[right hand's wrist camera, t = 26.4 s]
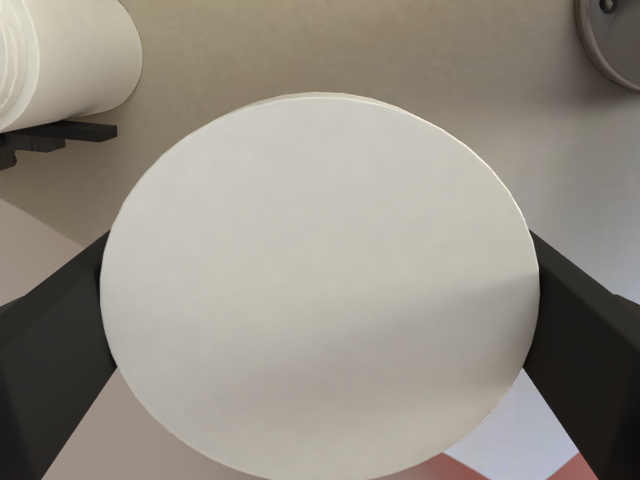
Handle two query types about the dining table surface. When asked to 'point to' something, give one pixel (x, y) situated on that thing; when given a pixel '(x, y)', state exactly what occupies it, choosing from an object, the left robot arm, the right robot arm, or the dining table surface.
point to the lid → (319, 289)
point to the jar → (64, 60)
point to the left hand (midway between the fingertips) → (103, 52)
